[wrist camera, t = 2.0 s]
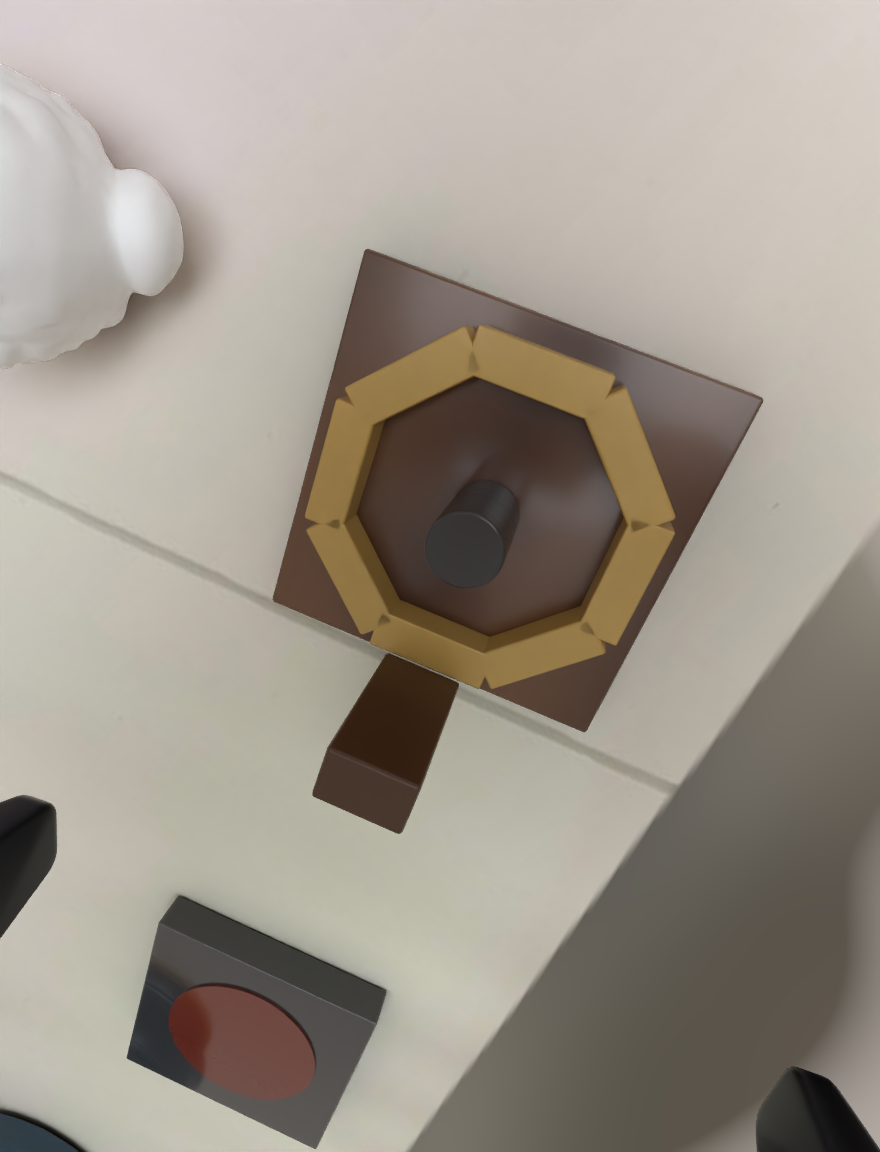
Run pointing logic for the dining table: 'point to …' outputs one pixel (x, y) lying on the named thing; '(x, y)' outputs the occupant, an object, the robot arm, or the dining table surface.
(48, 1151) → the canister
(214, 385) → the dining table surface
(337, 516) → the ring
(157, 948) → the stove
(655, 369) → the brown peg base
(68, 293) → the rabbit
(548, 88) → the dining table surface
